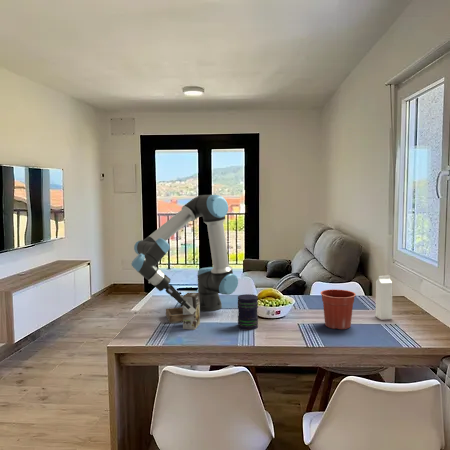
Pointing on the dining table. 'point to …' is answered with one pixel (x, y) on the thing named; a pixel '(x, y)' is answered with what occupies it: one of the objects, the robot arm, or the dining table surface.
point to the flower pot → (338, 308)
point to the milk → (384, 298)
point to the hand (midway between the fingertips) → (191, 308)
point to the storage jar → (247, 312)
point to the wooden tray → (174, 315)
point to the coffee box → (190, 319)
